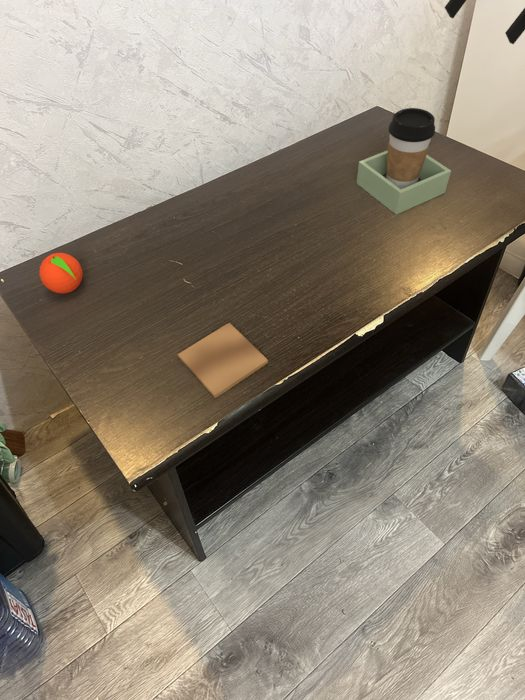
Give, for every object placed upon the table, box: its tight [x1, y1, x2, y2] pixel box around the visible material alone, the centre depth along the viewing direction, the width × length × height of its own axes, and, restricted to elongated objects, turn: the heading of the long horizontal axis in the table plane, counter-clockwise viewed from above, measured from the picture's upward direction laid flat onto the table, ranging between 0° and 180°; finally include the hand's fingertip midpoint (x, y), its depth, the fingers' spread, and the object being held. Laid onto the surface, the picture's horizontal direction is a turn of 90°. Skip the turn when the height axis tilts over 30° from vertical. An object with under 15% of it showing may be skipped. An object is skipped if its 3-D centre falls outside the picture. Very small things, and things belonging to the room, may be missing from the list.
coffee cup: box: [385, 107, 436, 189], centre depth 96 cm, size 8×8×15 cm
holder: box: [356, 149, 452, 216], centre depth 100 cm, size 13×13×5 cm
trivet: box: [177, 322, 269, 399], centre depth 77 cm, size 10×10×1 cm
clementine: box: [39, 252, 84, 294], centre depth 86 cm, size 8×7×7 cm
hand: (477, 25), depth 84 cm, fingers open, 13 cm apart
